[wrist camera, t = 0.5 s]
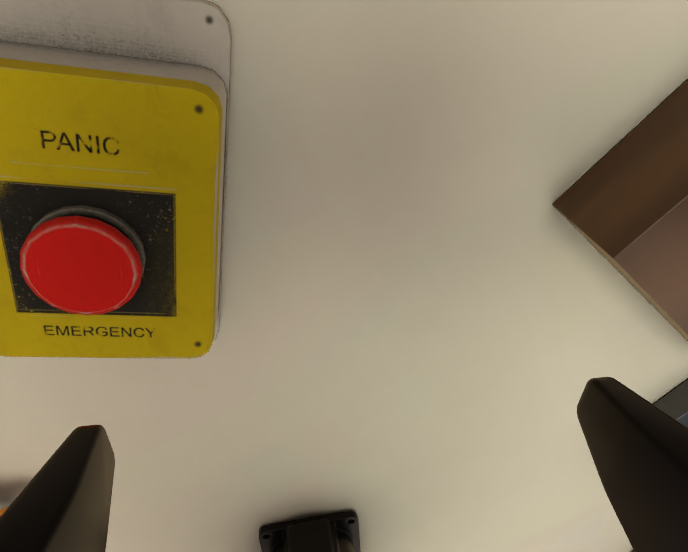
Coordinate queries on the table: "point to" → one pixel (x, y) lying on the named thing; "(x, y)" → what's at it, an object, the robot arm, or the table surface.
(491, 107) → the table surface
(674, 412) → the button box
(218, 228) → the emergency button
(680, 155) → the dial console
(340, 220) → the table surface
